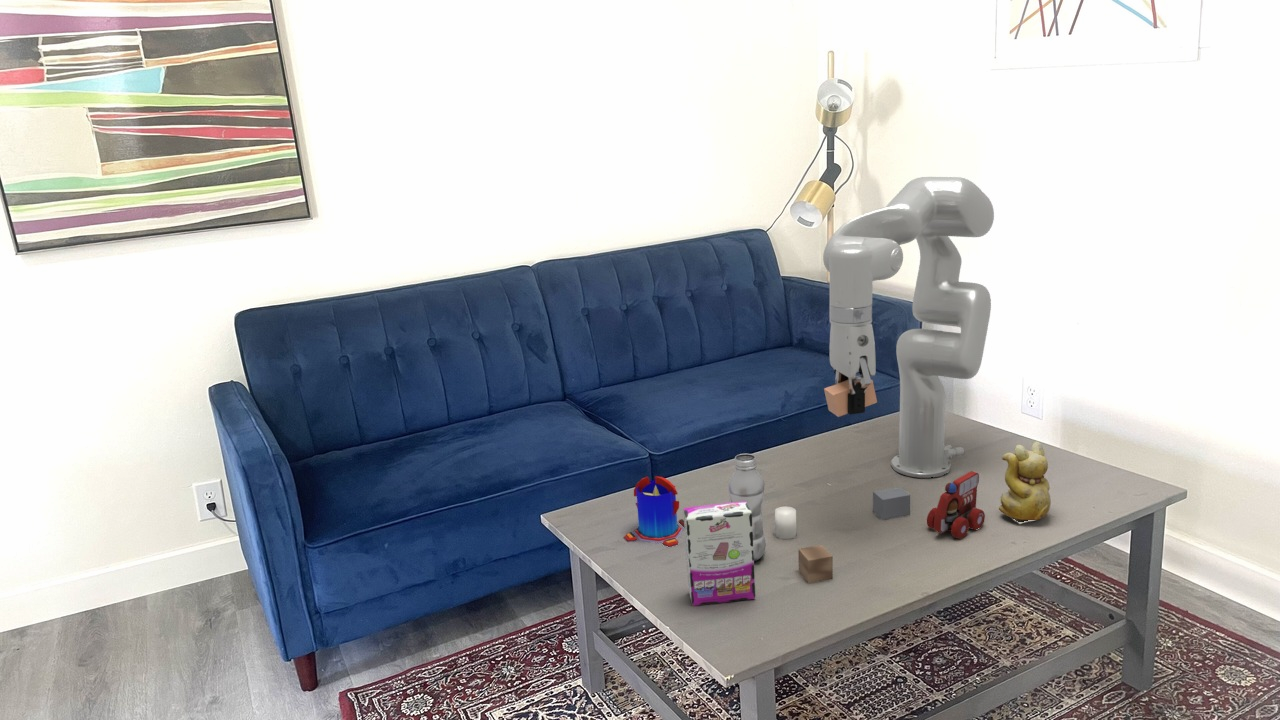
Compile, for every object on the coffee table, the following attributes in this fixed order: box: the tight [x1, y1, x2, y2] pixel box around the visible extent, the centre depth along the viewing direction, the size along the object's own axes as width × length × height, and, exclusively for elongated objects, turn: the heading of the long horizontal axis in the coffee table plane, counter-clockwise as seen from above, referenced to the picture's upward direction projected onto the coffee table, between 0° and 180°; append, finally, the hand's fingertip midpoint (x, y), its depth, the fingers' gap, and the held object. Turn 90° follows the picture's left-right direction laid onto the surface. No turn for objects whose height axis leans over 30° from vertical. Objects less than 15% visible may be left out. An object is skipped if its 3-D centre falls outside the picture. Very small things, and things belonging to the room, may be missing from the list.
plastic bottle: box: [727, 453, 767, 562], centre depth 168 cm, size 6×7×20 cm
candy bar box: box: [682, 501, 756, 607], centre depth 156 cm, size 11×5×16 cm, turn 96°
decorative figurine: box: [998, 441, 1052, 522], centre depth 177 cm, size 10×8×15 cm
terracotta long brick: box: [823, 379, 878, 418], centre depth 170 cm, size 8×4×4 cm, turn 103°
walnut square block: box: [797, 544, 834, 584], centre depth 162 cm, size 4×4×4 cm
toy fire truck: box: [926, 471, 986, 540], centre depth 175 cm, size 7×12×10 cm, turn 128°
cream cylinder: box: [774, 506, 797, 540], centre depth 178 cm, size 4×4×5 cm
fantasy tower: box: [622, 476, 685, 548], centre depth 181 cm, size 12×12×12 cm
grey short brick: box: [872, 487, 911, 521], centre depth 183 cm, size 6×4×4 cm, turn 104°
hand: (850, 408), depth 171 cm, fingers closed on terracotta long brick, 4 cm apart
